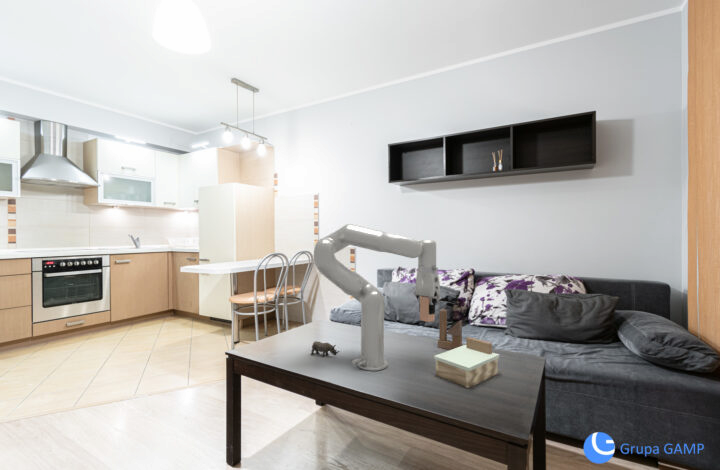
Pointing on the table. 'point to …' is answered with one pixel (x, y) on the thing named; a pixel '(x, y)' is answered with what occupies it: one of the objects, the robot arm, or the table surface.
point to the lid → (469, 355)
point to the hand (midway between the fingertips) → (427, 312)
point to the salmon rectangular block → (425, 310)
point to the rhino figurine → (323, 348)
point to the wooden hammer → (449, 332)
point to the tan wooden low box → (466, 373)
